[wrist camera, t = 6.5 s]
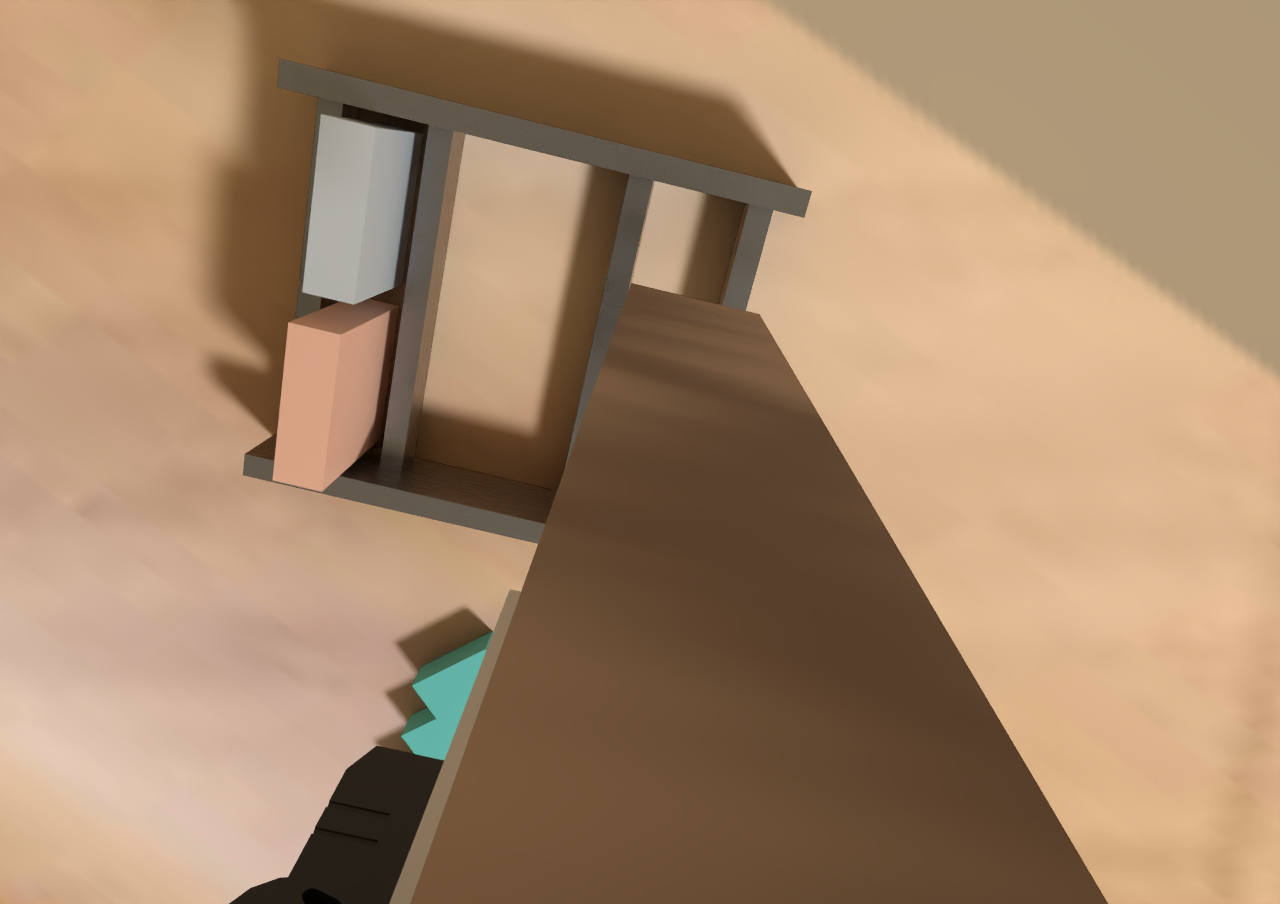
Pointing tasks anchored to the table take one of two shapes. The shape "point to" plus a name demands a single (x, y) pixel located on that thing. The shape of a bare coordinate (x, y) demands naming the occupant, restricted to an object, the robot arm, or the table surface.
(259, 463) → the floor rack
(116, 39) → the table surface
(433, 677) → the alien figure
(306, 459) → the terracotta offcut
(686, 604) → the walnut sheet
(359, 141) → the slate offcut
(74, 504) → the table surface
